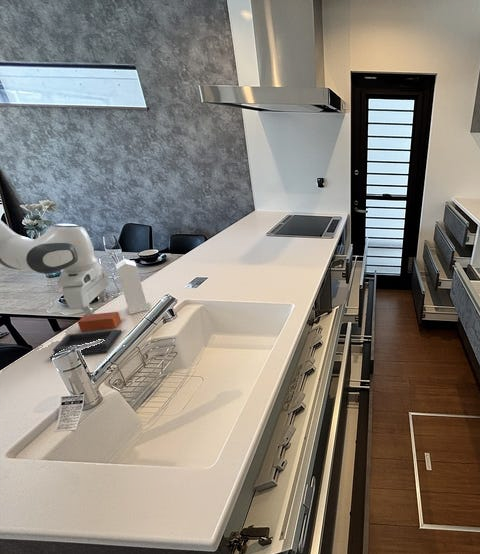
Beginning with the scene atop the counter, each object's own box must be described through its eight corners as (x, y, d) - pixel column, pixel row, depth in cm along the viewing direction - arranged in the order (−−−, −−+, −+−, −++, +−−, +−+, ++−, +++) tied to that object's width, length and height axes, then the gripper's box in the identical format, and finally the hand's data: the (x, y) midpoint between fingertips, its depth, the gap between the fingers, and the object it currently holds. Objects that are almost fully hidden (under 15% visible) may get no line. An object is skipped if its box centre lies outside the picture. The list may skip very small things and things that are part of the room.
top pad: (81, 331, 106) (77, 321, 104) (88, 324, 110) (84, 314, 109) (115, 328, 109) (112, 318, 107) (121, 320, 113) (118, 311, 112)
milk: (130, 314, 118) (113, 261, 109) (128, 308, 122) (112, 256, 113) (148, 309, 121) (134, 258, 112) (147, 303, 126) (132, 253, 117)
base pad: (50, 360, 92) (47, 353, 91) (72, 337, 102) (69, 331, 102) (106, 352, 96) (104, 346, 95) (121, 332, 107) (119, 326, 106)
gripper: (87, 261, 109) (99, 295, 115) (53, 284, 91) (69, 323, 97) (108, 259, 111) (119, 293, 116) (79, 282, 93) (93, 321, 99)
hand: (96, 307), depth 107 cm, fingers open, 8 cm apart
